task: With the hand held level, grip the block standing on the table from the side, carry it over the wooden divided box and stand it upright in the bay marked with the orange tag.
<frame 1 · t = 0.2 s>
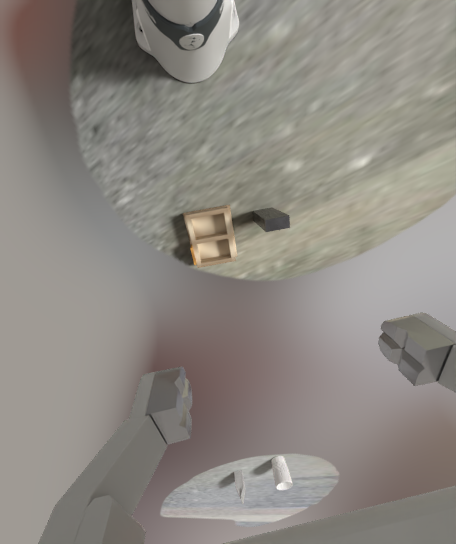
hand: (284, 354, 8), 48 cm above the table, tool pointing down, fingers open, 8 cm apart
white cup: (277, 458, 105), on the table
tea bag: (238, 473, 108), on the table
block: (263, 214, 54), on the table
wooden divided box: (211, 235, 55), on the table
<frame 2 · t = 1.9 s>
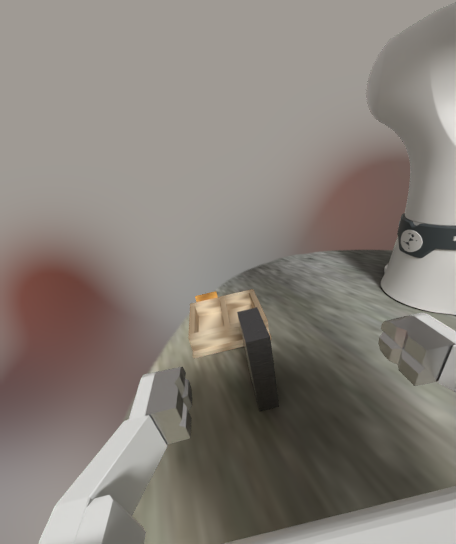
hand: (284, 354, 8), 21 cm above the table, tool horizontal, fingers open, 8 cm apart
block: (263, 390, 28), on the table
wooden divided box: (228, 326, 41), on the table
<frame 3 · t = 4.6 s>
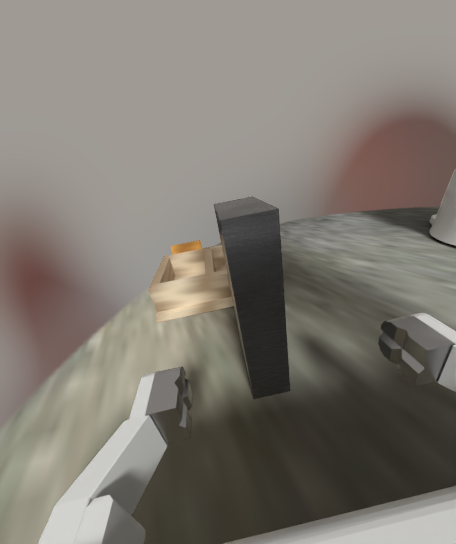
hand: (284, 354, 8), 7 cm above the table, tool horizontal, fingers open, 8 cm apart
block: (262, 364, 16), on the table
wooden divided box: (214, 284, 29), on the table
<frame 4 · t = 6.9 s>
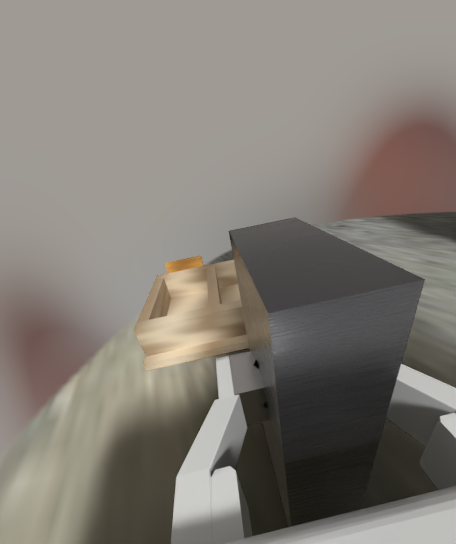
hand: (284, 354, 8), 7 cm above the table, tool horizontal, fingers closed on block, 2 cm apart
block: (297, 464, 11), on the table, touching gripper
wooden divided box: (219, 312, 23), on the table
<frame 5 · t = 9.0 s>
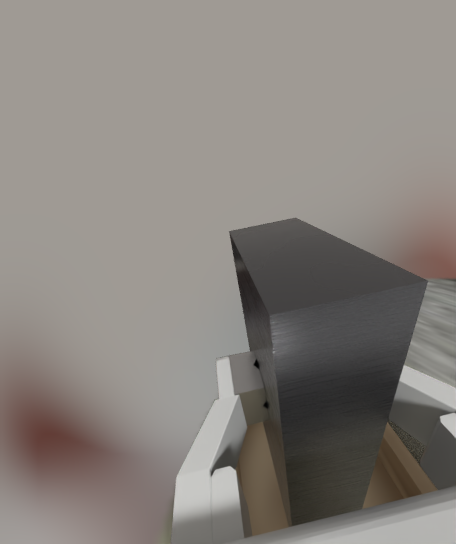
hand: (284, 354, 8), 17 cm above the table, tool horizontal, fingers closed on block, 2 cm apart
block: (298, 465, 11), point 10 cm above the table, touching gripper
wooden divided box: (308, 469, 18), on the table
when the fingers open (9 cm above the table, at t = 11.0 s): block drops 1 cm, resting on wooden divided box.
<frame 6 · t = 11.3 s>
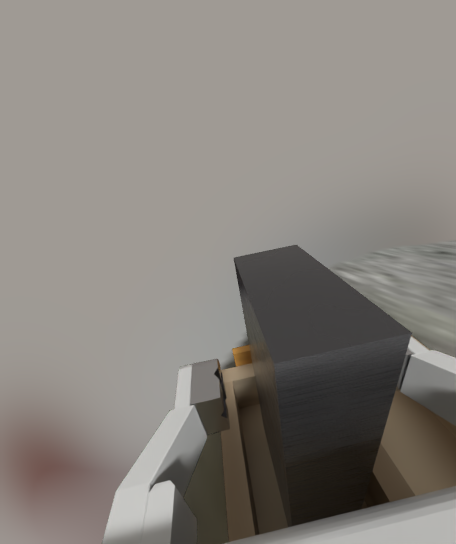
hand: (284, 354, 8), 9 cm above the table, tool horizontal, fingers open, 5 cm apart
block: (299, 474, 11), point 1 cm above the table, touching wooden divided box
wooden divided box: (353, 467, 12), on the table
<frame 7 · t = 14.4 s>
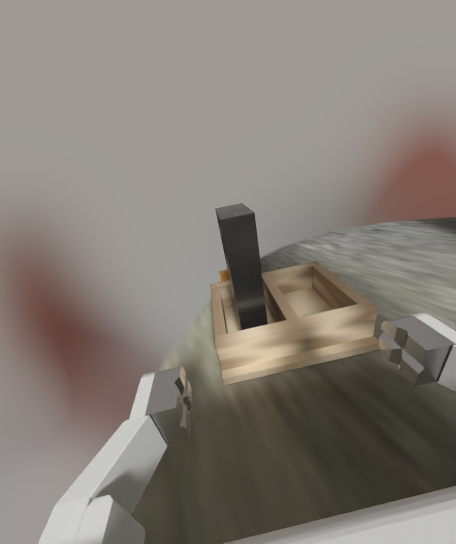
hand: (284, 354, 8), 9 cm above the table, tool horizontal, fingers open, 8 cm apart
block: (251, 323, 22), point 1 cm above the table, touching wooden divided box
wooden divided box: (279, 322, 23), on the table
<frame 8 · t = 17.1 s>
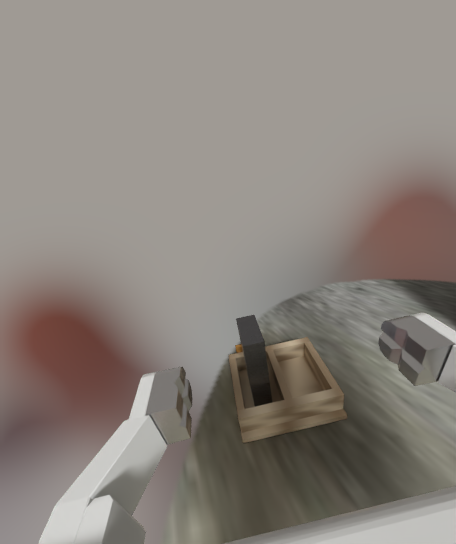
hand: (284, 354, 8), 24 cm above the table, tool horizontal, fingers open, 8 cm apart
block: (259, 390, 31), point 1 cm above the table, touching wooden divided box
wooden divided box: (279, 388, 32), on the table
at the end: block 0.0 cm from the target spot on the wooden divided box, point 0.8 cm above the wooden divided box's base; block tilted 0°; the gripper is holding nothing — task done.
